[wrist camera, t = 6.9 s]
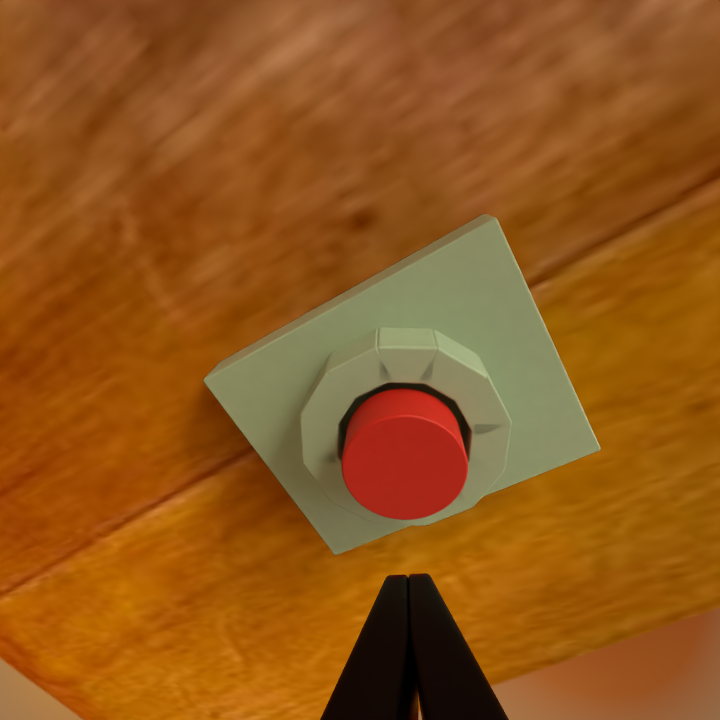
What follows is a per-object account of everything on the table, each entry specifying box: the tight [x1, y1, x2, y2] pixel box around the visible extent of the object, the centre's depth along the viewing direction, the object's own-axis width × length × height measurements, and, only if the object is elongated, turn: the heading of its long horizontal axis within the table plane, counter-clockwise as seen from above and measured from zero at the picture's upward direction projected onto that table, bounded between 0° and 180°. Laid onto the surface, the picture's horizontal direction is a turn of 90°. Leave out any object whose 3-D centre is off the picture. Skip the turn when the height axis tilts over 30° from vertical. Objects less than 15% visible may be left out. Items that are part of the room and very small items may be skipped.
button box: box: [203, 214, 600, 555], centre depth 16 cm, size 11×9×4 cm
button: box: [341, 388, 468, 520], centre depth 14 cm, size 4×4×2 cm
